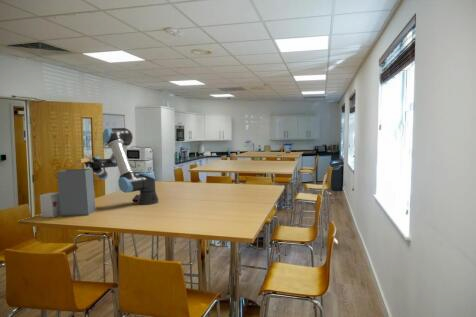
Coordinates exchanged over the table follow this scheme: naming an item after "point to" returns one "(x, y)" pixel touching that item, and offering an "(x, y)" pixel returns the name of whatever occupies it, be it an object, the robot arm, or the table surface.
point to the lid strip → (83, 160)
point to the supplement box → (50, 205)
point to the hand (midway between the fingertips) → (87, 156)
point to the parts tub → (76, 192)
